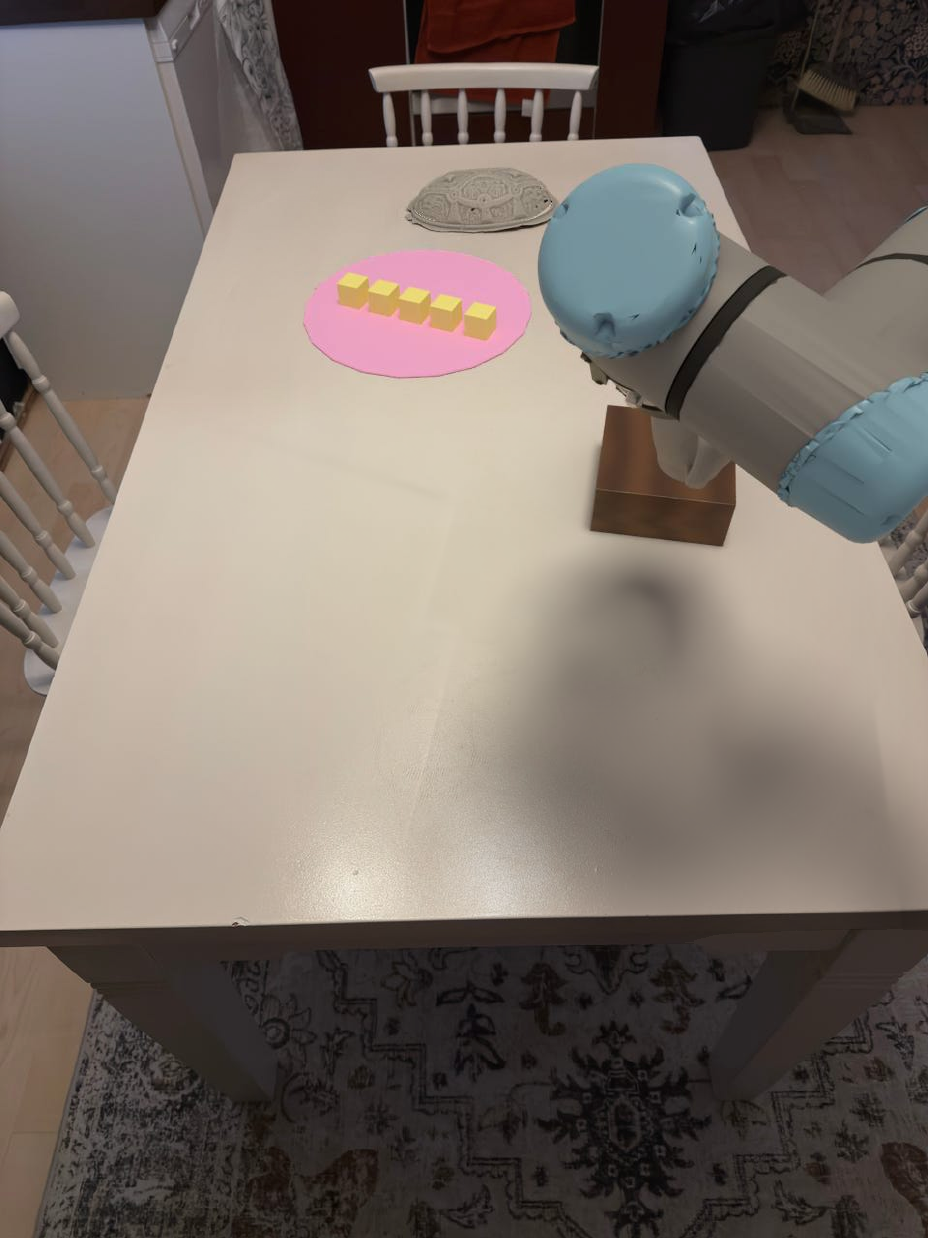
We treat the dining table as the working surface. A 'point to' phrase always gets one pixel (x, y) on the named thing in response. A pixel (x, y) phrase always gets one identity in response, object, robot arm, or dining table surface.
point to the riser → (655, 488)
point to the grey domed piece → (468, 189)
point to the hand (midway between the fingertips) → (708, 414)
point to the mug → (685, 453)
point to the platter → (417, 313)
